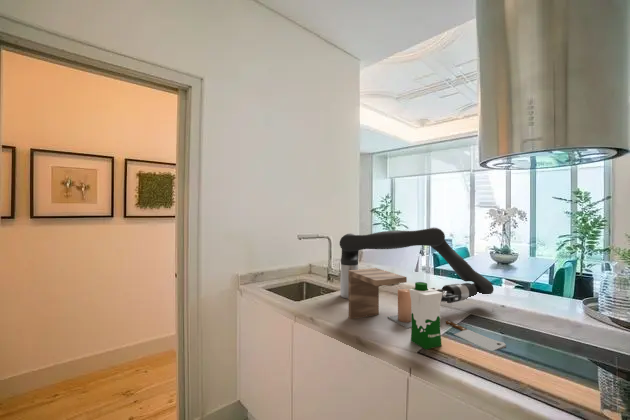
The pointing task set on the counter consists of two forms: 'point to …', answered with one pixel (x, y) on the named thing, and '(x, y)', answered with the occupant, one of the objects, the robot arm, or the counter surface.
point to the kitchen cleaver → (477, 338)
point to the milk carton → (425, 316)
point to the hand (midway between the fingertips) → (427, 297)
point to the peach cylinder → (404, 305)
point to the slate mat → (395, 319)
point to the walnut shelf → (368, 290)
